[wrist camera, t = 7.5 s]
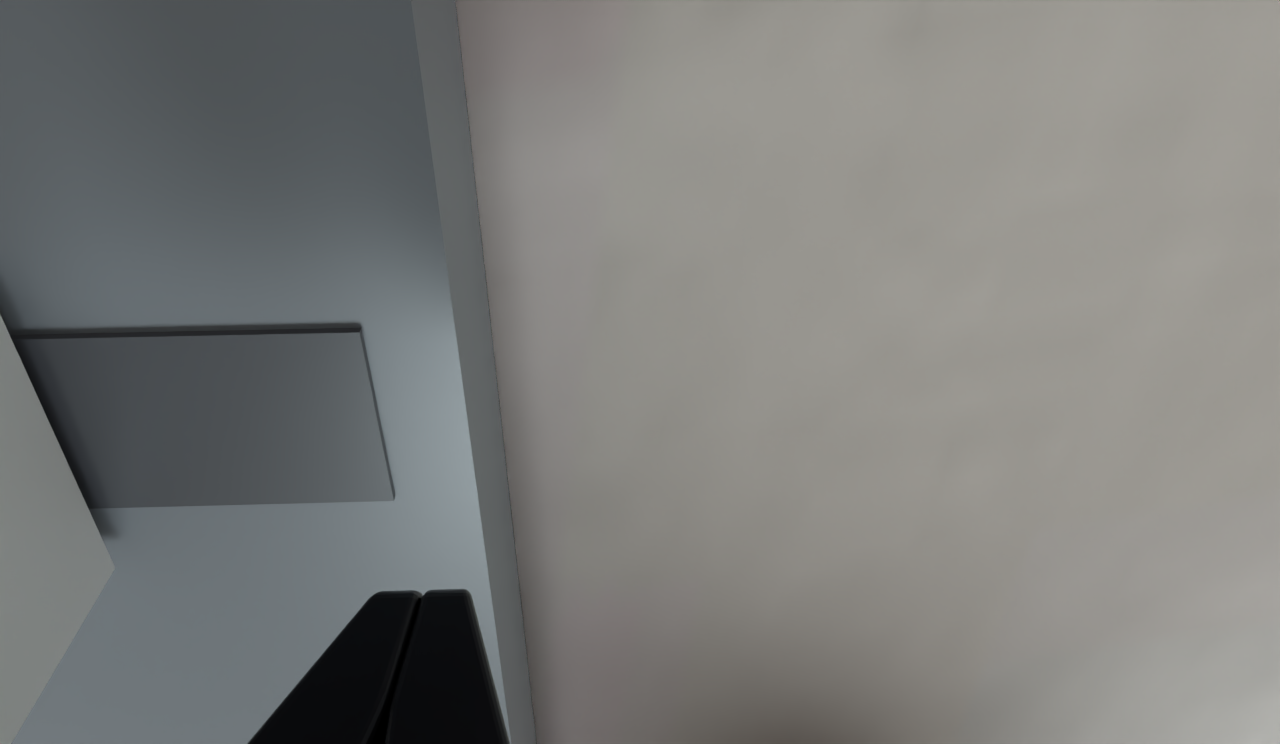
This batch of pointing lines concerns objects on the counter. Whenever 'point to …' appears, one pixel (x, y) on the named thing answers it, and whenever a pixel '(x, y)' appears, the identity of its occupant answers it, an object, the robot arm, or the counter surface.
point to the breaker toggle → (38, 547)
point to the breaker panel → (252, 342)
